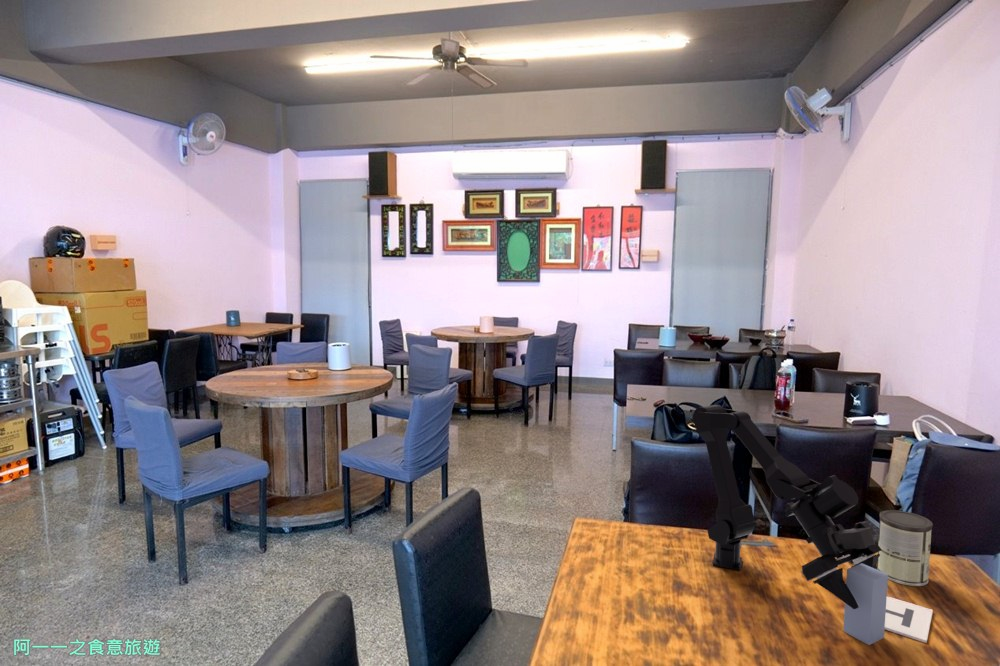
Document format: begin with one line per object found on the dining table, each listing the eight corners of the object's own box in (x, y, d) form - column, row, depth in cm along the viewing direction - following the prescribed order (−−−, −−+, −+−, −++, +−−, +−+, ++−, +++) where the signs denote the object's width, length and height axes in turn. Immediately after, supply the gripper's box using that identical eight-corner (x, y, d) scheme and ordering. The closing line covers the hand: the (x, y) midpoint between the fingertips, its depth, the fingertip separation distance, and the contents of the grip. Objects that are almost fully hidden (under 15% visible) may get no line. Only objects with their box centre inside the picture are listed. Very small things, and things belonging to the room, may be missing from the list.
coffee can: (870, 562, 144) (874, 507, 143) (919, 568, 141) (923, 513, 139) (883, 582, 134) (887, 523, 133) (935, 590, 131) (940, 530, 130)
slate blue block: (843, 631, 115) (847, 569, 114) (858, 624, 118) (861, 563, 116) (869, 645, 111) (873, 580, 110) (883, 637, 113) (888, 574, 112)
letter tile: (843, 615, 121) (843, 613, 121) (856, 589, 131) (856, 586, 131) (926, 643, 112) (926, 640, 111) (932, 612, 122) (932, 609, 122)
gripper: (818, 518, 112) (875, 600, 103) (874, 501, 120) (930, 576, 112) (780, 542, 119) (829, 620, 111) (835, 524, 128) (885, 595, 119)
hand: (870, 602), depth 113 cm, fingers open, 9 cm apart
